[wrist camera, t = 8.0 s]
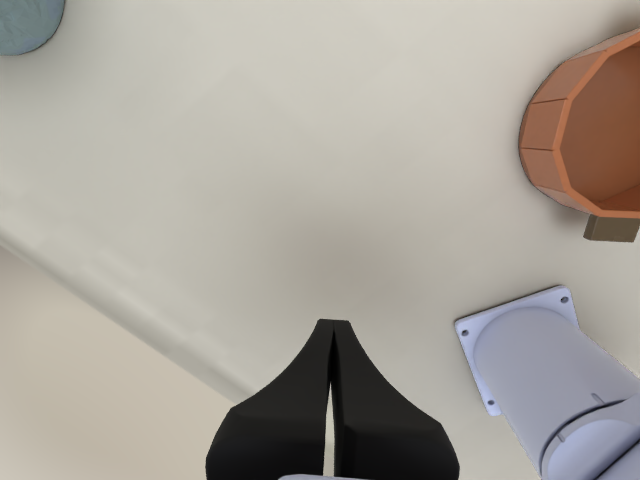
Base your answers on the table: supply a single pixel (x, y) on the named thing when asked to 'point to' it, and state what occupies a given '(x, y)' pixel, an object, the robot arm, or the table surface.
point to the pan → (590, 137)
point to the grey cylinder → (27, 24)
